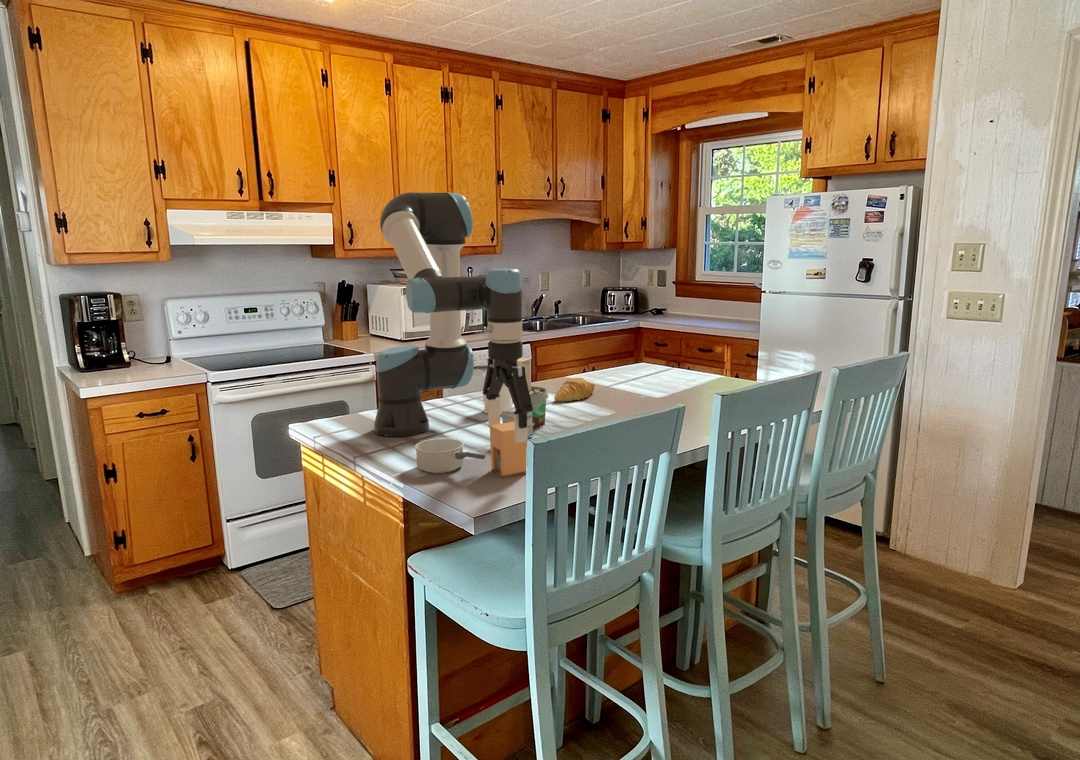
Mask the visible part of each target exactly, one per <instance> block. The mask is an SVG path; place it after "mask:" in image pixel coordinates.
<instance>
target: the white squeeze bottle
mask: <svg viewBox="0 0 1080 760" xmlns="http://www.w3.org/2000/svg"><path fill="white" fill-rule="evenodd" d="M486 373H487V371H486V372H485V373H484V374H482V377H481V378H482V380H481V381H482V389H483V388H484V383H485V378H486ZM488 389H489V388H488ZM499 395H500V396H499V397H498V398H499V399H500V415H502V411H505V410H507V409H510V408H513V407H514V406H513V400H512V398H511V395H510V392H509V389H508V387H506V386H505V384H504V383H503V385H502V388H501V390H500V392H499ZM482 398H483V399H482V400H483V406H484V407H483V412H484V413H485V414H487V415H488V399H487V398H486V395H484V394H483V393H482ZM498 398H496V399H498Z"/></svg>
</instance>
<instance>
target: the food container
mask: <svg viewBox="0 0 1080 760" xmlns="http://www.w3.org/2000/svg"><path fill="white" fill-rule="evenodd" d="M529 394H530V398H531V402H532V407H533V411H532V424H533V429H536V428H535V427H539V428H541V427H540V426H542V427H543V425H544V426H545V425H546V414H547V413H546V411H547V410H546V409H547V408H546V407H547V399H549V392H548V390H547V389H546V388H545V387H541V386H532V385H531V390H530V391H529Z"/></svg>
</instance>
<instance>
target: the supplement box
mask: <svg viewBox="0 0 1080 760" xmlns="http://www.w3.org/2000/svg"><path fill="white" fill-rule="evenodd" d="M517 366H518V367H520V366H524V367H525V376H526V381H527V385H528V389H529V391H530V390H531V386H532V380H531V377H532V376H531V359H529V358H522V357H521V358H520V359H518V360H517Z"/></svg>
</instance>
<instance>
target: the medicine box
mask: <svg viewBox="0 0 1080 760" xmlns="http://www.w3.org/2000/svg"><path fill="white" fill-rule="evenodd" d="M512 407H513V408H510V409H507V410H505V411H502V414H501V417H502V423H508V422H514V412H515V410H516V409H515V406H512ZM502 423H501V424H502ZM533 431H534V428H533V424H532V411H531V412H528V413H527V439H528V440H529V438H530V439H532V438H533V437H530V436H534V434H533V433H534V432H533Z"/></svg>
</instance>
